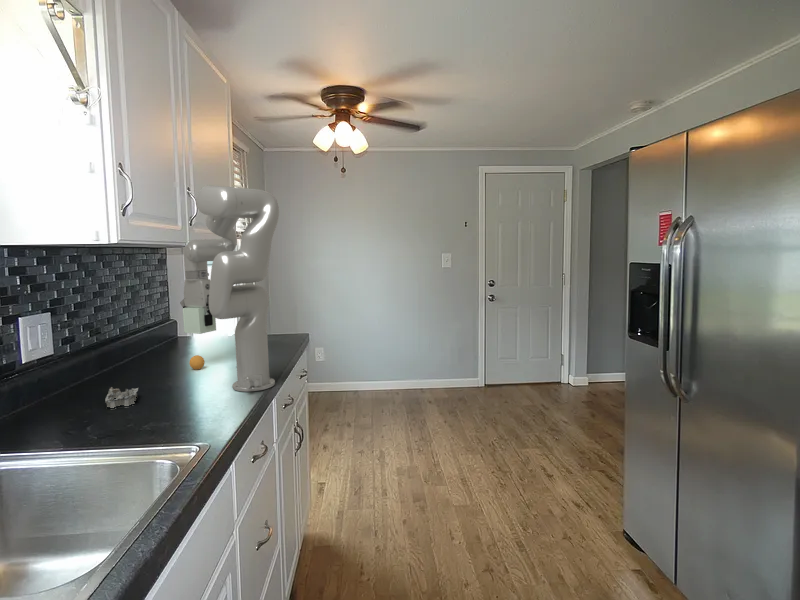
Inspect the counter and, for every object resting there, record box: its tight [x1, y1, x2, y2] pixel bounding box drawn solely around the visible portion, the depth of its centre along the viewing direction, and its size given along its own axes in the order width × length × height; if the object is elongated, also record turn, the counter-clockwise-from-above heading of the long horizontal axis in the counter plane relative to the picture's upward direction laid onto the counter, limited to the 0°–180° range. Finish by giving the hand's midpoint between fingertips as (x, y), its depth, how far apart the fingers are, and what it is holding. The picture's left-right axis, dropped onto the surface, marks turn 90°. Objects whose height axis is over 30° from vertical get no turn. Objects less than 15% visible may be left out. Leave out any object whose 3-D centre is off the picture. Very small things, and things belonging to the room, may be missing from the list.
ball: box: [188, 354, 206, 370], centre depth 175 cm, size 5×5×5 cm
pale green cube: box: [182, 307, 217, 335], centre depth 175 cm, size 8×8×9 cm
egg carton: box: [104, 386, 139, 408], centre depth 139 cm, size 11×8×4 cm
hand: (200, 324), depth 175 cm, fingers closed on pale green cube, 7 cm apart
